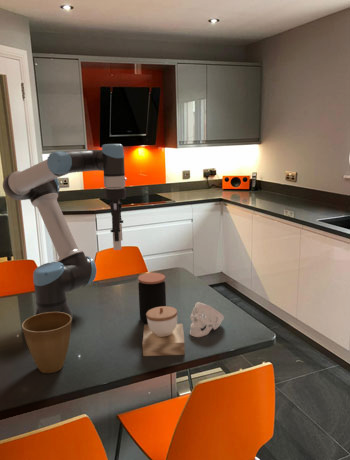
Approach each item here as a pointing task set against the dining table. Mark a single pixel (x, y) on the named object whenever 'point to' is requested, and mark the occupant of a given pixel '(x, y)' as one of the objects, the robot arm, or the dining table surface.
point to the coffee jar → (151, 293)
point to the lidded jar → (162, 320)
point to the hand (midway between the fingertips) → (118, 244)
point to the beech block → (163, 342)
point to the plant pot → (48, 339)
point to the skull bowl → (204, 319)
